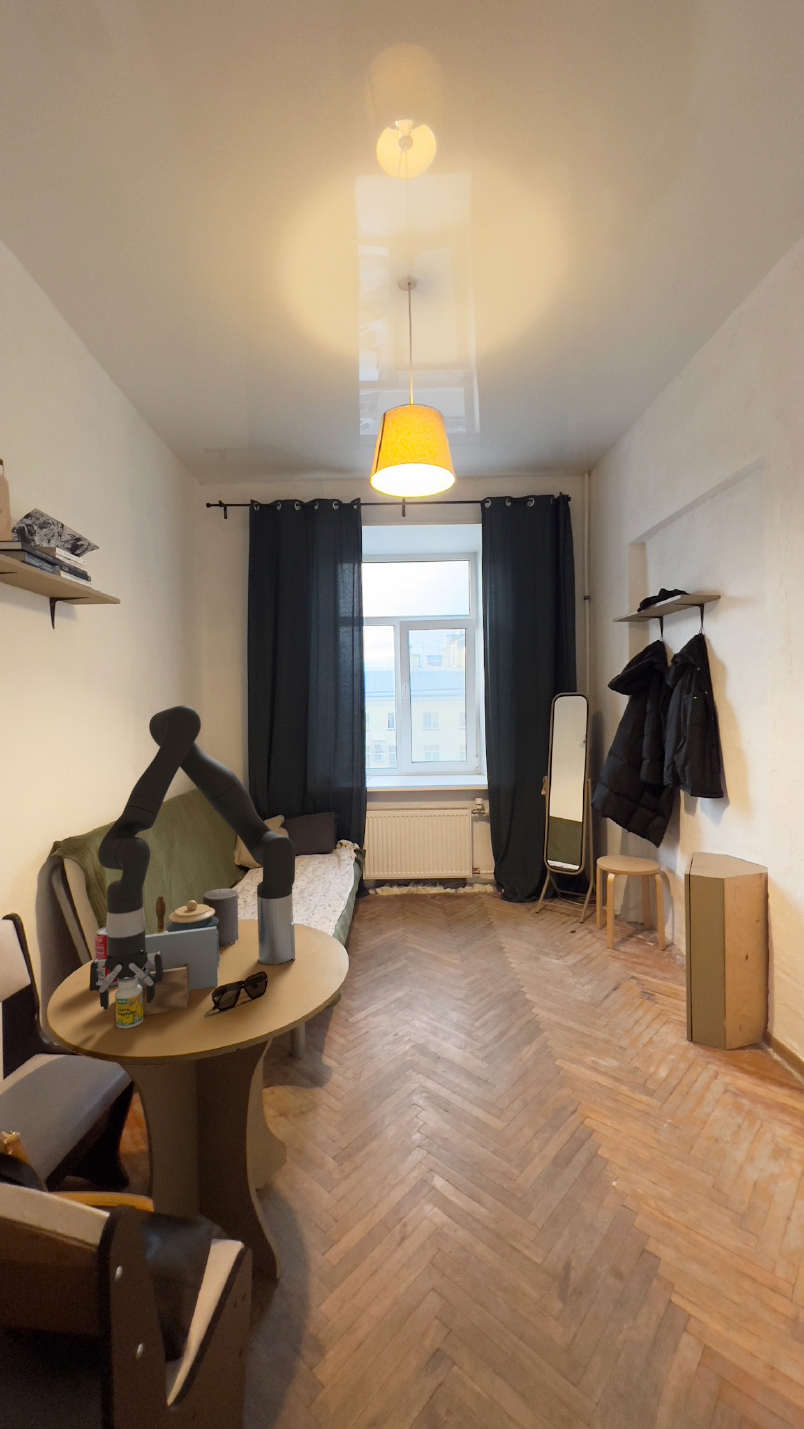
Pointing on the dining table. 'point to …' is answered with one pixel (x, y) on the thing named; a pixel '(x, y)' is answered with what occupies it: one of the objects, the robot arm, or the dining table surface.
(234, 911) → the pillar candle
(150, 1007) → the cleat pocket
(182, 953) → the wall board
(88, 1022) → the dining table surface
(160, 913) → the hand bell
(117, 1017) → the supplement bottle
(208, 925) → the canister
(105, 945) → the soda can
